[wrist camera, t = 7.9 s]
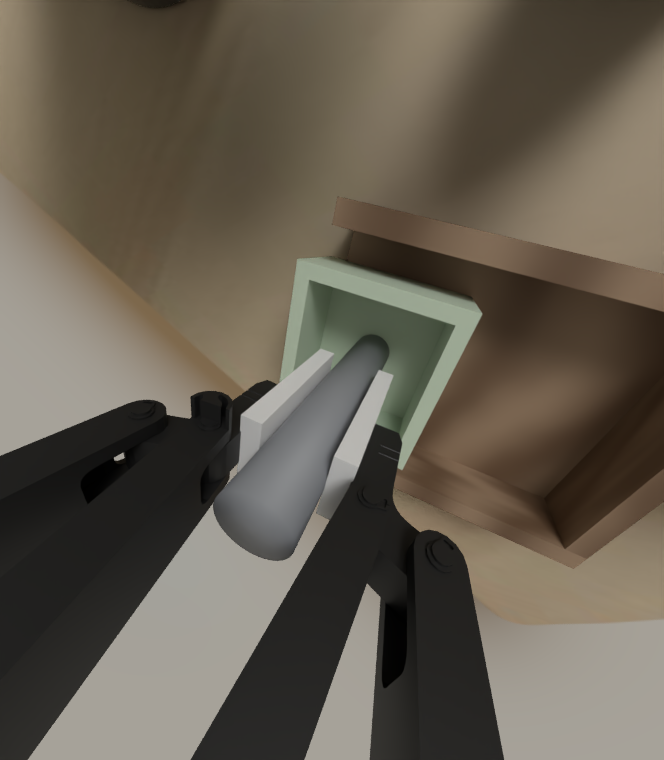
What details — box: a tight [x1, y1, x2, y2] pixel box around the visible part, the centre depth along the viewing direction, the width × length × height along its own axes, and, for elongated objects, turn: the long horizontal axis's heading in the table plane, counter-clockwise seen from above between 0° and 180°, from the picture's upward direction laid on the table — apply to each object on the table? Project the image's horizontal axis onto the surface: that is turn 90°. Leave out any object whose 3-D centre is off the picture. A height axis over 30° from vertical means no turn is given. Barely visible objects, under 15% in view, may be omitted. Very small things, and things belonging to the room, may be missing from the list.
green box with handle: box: [213, 256, 482, 561], centre depth 13 cm, size 9×10×15 cm
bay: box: [332, 197, 664, 569], centre depth 17 cm, size 20×16×5 cm
